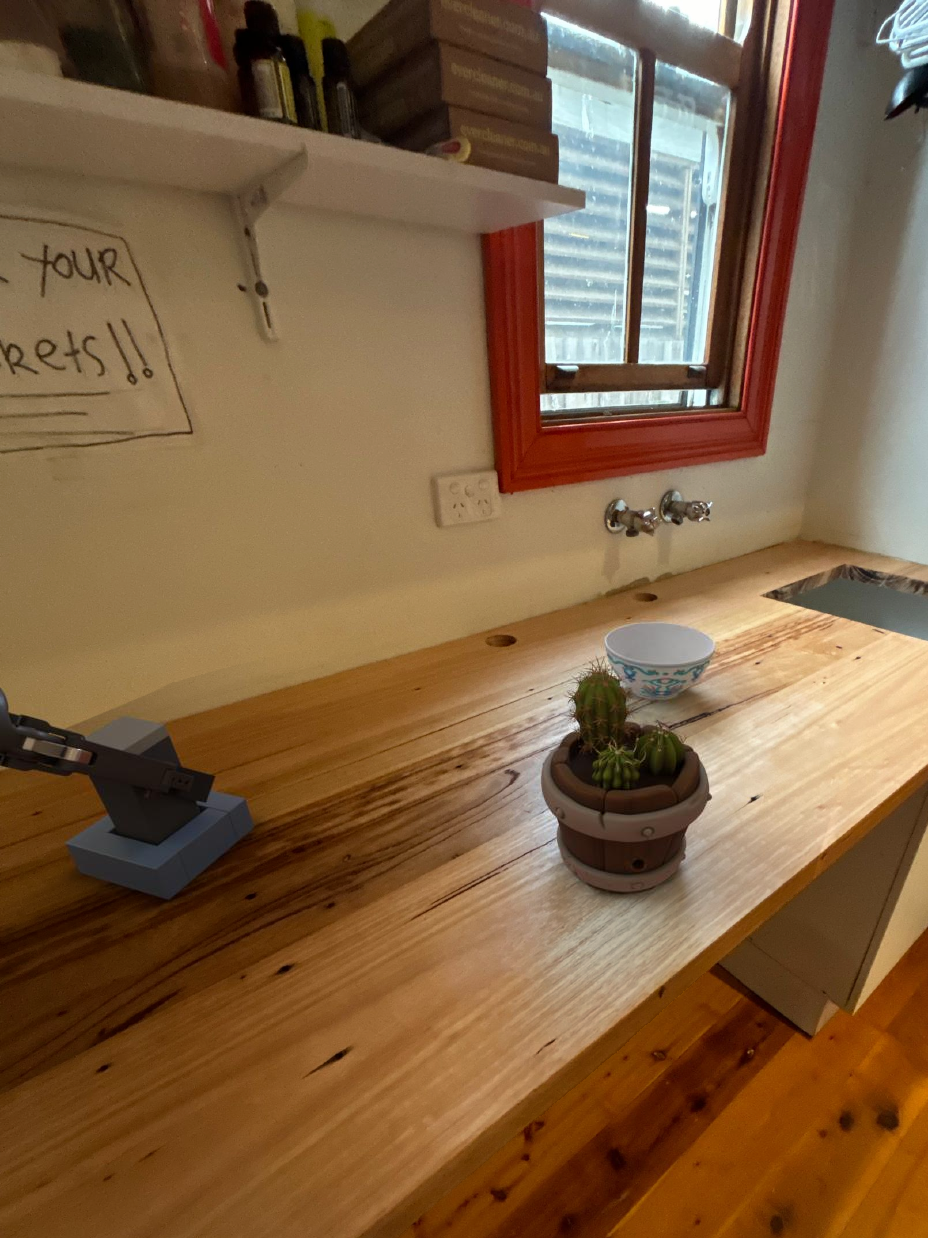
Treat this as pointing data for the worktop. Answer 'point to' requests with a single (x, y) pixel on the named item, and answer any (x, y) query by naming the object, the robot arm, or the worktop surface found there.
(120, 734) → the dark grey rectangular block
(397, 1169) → the worktop surface
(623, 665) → the chinaware
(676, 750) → the flowerpot
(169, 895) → the block
